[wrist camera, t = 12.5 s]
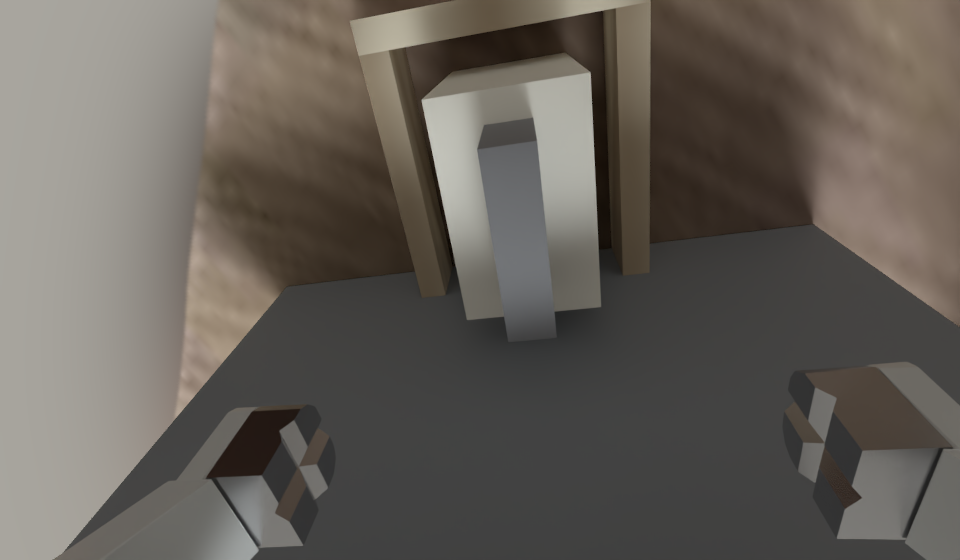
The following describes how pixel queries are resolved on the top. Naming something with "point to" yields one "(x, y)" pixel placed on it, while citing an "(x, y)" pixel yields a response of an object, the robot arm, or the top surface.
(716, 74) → the top surface
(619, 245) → the frame
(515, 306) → the cream block with tab
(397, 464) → the wall board
